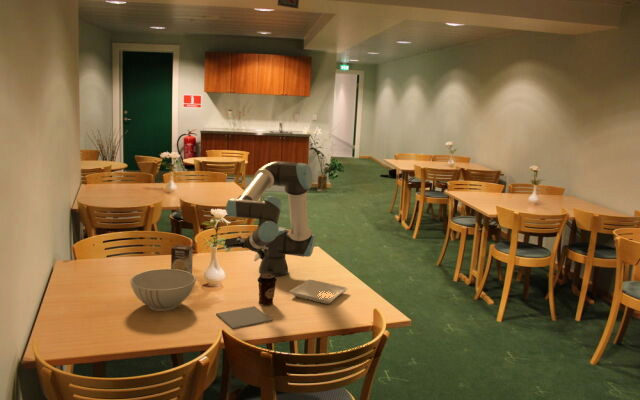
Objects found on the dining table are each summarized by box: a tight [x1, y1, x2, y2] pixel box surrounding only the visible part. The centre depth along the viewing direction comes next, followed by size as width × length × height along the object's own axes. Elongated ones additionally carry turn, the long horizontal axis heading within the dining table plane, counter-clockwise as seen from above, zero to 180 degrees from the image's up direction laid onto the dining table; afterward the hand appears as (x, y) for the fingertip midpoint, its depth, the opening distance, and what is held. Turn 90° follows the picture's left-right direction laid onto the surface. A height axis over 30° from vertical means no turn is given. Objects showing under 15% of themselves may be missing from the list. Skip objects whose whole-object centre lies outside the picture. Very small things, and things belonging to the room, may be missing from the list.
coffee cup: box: [257, 273, 278, 306], centre depth 249 cm, size 9×8×13 cm
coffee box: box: [170, 244, 194, 274], centre depth 274 cm, size 9×6×16 cm
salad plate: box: [289, 279, 348, 305], centre depth 264 cm, size 21×21×3 cm
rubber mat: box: [215, 306, 273, 330], centre depth 234 cm, size 18×16×1 cm
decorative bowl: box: [129, 268, 197, 312], centre depth 240 cm, size 27×27×12 cm
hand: (241, 253), depth 249 cm, fingers open, 13 cm apart
